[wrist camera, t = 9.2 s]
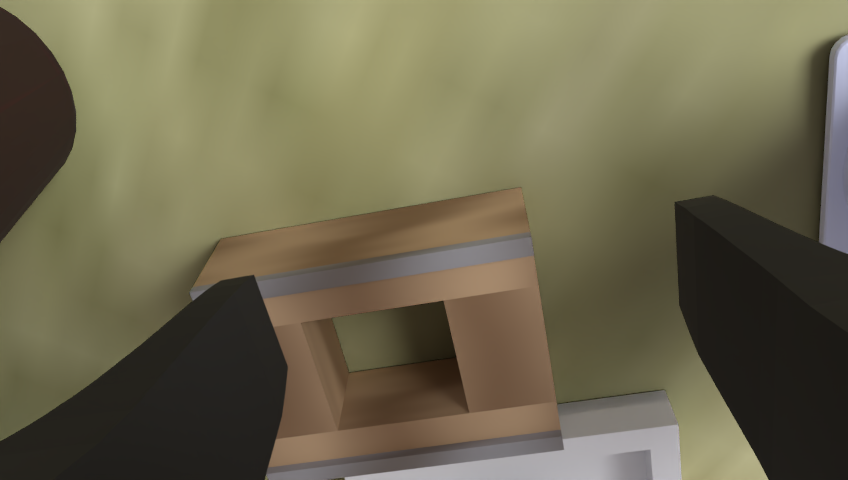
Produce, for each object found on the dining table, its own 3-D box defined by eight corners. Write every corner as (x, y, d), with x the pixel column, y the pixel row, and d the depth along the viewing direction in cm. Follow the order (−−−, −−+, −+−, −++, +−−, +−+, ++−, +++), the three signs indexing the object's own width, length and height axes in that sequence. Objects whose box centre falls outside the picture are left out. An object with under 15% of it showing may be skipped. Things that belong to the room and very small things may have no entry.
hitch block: (521, 187, 23) (531, 236, 20) (551, 383, 26) (564, 449, 24) (220, 238, 24) (188, 292, 21) (290, 419, 28) (271, 486, 25)
